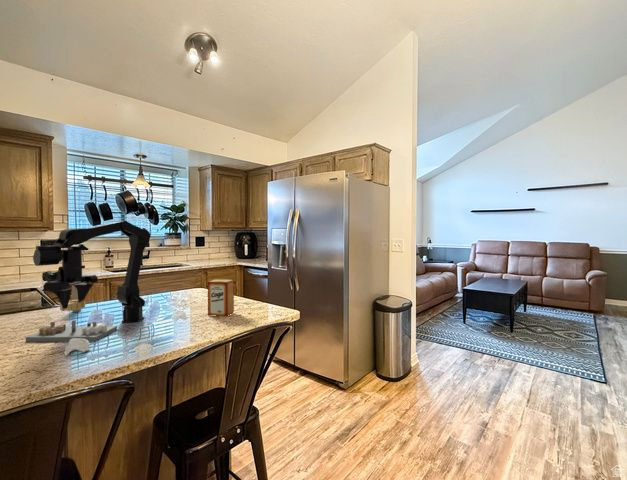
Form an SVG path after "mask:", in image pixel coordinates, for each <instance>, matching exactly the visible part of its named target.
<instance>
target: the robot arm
mask: <svg viewBox="0 0 627 480" xmlns="http://www.w3.org/2000/svg"><path fill="white" fill-rule="evenodd" d="M117 232H121V233H122V234H123V235H124V236H126V237H128V244H129V247H130V252H129V258H128V263H127V269H126V273H125V279H124V282H123V284H122V285H118V286H117V291H116V294H115V296H116V298H117V300H118V303H120V304H121V306H122V307H123V310H122V320H121V323H138V322H140V321H142V320H144V319H145V318H146V317H145V316H144V315H143V314H144V313H143V312H144V311H143V310H144V309H143V307H145V304H146V300H144V299H143V298H142V297H140V288H139V287H140V286H139V283H138V281H139V277H140V276H139V275H140V272H141V267H142V260H143V255H144V251H145V249H146V247H147V246H148V245H149V243H150V240H151V237H152V236H151V232H150V231H148V230H147V229H146V228H145V229H144V228H141V227H140V226H137V225H134V224H133V223H131V222H129V221H127V220H117V221H114V222H110V223H107V224H100V225H96V226H92V227H86V228H85V227H84V228H65V229H63V230H61V231H60V233H59V235H58V238H57V239H56V241H55V242H54V243H52V245H36V246H35V250H34V252H33V255H32V260H33V264H34V265H35V266H36V267H43V266H54V265H58V264H60V262H61V265H62V266H58V268H57V269H58V270H57V271H54V272H52V271H51V270H47V271H43V272H42V273H41V274H42V275H41V277H42V278H41V280H42V281H43V282H44V283H43V286H42V289H43V292H45V291H47V292H50V293H53V294H54V295H56V297H57V299H58V301H59V304H60V303H61V305H62V307H63V308H67V306H68V303H69V301H70V300H71V295H72V288H70V286H72V285H74V284H75V285H74V286H75V287H76V289H77V293H78V300H84V301H85V299H86V297H87V295H88V294H89V292H90V291H91V288H92V287H93V286H94V285H95V283H98V281H99V280H98V279H99V277H98V275H96V274H83V269H85V268H86V265H83V251H89V248H88V247H86V246H85V244H82V243H85V242H88V241H90V240H92V239H93V238H97V237H100V236H105V235H108V234H109V235H110V234H113V233H117Z"/></svg>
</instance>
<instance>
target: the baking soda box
mask: <svg viewBox="0 0 627 480" xmlns="http://www.w3.org/2000/svg"><path fill="white" fill-rule="evenodd" d="M234 283H235V281H234V279H213V280H212V279H211V280H209V281H207V316H208V315H216V316H215V317H219V316H228V315H230V314H232V313H233V312H234V313H235V310H234V309H235V302H234V301H235V299H234V297H235V296H234V295H235V290H234V285H235V284H234ZM234 313H233V314H234ZM233 314H232V315H233ZM230 316H231V315H230ZM228 317H229V316H228Z"/></svg>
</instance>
